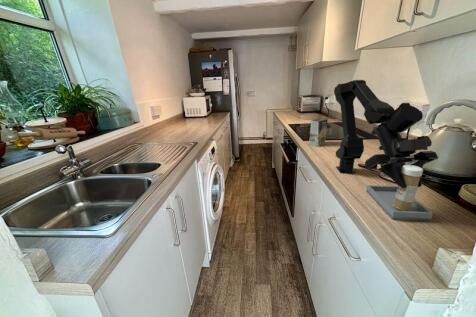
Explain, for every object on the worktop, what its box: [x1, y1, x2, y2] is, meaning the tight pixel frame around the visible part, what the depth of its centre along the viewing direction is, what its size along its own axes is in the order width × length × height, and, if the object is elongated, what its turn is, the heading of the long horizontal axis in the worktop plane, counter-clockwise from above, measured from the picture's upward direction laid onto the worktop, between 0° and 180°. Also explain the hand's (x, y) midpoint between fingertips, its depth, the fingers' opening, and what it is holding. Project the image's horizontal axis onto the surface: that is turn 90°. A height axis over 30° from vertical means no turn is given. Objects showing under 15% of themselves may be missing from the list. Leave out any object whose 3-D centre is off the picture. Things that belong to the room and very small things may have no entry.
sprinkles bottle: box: [393, 164, 424, 211], centre depth 58 cm, size 5×5×13 cm
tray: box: [365, 185, 434, 222], centre depth 64 cm, size 16×10×2 cm, turn 172°
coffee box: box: [308, 118, 328, 147], centre depth 127 cm, size 9×6×16 cm
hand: (412, 187), depth 57 cm, fingers closed on sprinkles bottle, 4 cm apart
